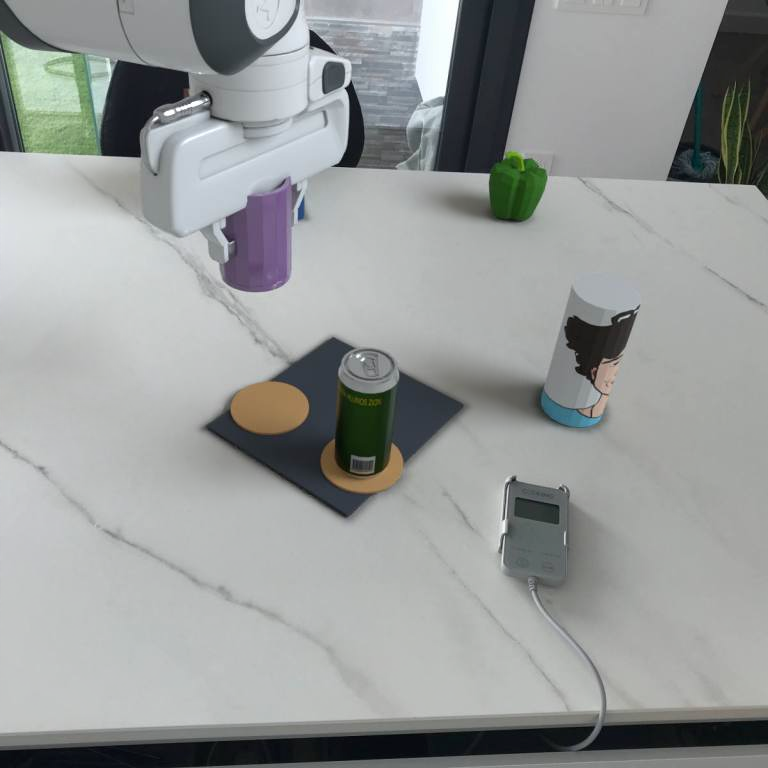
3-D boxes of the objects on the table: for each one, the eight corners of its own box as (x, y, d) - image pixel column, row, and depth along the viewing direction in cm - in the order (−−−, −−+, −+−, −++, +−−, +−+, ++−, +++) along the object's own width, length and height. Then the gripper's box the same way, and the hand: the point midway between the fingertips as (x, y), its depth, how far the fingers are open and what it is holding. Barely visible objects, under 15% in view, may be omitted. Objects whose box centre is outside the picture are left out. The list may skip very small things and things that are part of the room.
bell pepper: (538, 205, 121) (551, 144, 115) (538, 230, 115) (553, 166, 109) (484, 198, 122) (495, 136, 115) (482, 222, 115) (493, 158, 109)
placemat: (356, 523, 70) (356, 518, 69) (199, 423, 78) (199, 418, 78) (471, 411, 83) (472, 406, 82) (326, 335, 91) (326, 331, 90)
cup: (588, 436, 81) (628, 319, 71) (530, 409, 84) (561, 292, 74) (611, 403, 85) (652, 288, 76) (555, 378, 88) (588, 264, 78)
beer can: (394, 479, 73) (406, 382, 66) (337, 484, 72) (343, 386, 65) (383, 440, 77) (393, 344, 70) (330, 444, 76) (334, 347, 69)
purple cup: (257, 301, 65) (253, 203, 59) (205, 274, 68) (197, 178, 62) (305, 272, 69) (306, 178, 63) (254, 247, 72) (251, 155, 66)
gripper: (171, 128, 50) (190, 306, 58) (365, 59, 63) (356, 213, 72) (106, 101, 52) (134, 275, 61) (306, 40, 65) (304, 191, 74)
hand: (255, 241), depth 66 cm, fingers closed on purple cup, 6 cm apart
